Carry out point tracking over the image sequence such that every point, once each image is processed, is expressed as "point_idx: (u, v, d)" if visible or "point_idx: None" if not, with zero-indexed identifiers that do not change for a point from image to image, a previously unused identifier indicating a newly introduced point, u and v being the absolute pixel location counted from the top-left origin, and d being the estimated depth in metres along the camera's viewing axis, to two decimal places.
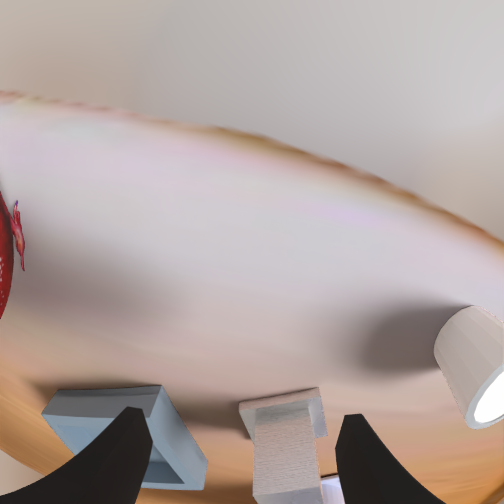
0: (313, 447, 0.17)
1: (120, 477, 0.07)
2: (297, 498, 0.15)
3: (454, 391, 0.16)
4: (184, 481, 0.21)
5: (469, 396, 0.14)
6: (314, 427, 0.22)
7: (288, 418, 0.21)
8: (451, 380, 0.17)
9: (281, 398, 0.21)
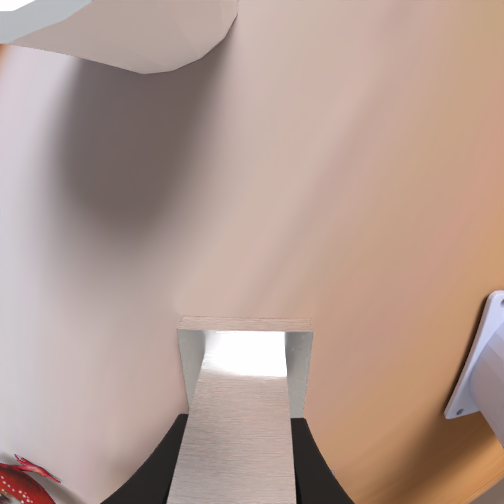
0: (187, 426, 0.08)
1: None
2: None
3: (110, 46, 0.05)
4: None
5: None
6: (271, 351, 0.12)
7: None
8: (111, 53, 0.06)
9: None
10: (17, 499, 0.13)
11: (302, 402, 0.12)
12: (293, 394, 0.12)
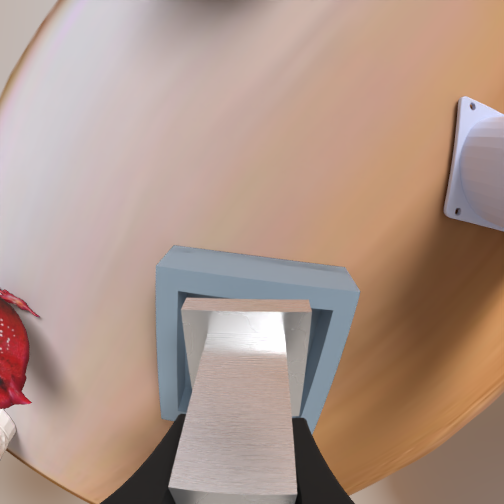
0: (191, 400, 0.09)
1: None
2: None
3: None
4: (325, 307, 0.16)
5: None
6: (271, 331, 0.12)
7: None
8: None
9: None
10: None
11: (301, 382, 0.13)
12: (293, 374, 0.13)
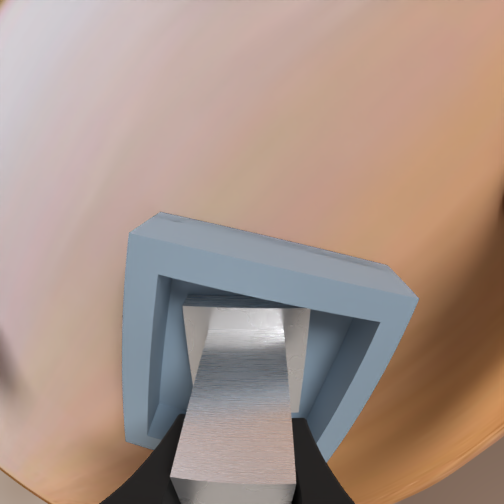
0: (192, 394, 0.09)
1: None
2: None
3: None
4: (371, 317, 0.11)
5: None
6: (271, 327, 0.13)
7: None
8: None
9: None
10: None
11: (300, 378, 0.13)
12: (292, 370, 0.13)
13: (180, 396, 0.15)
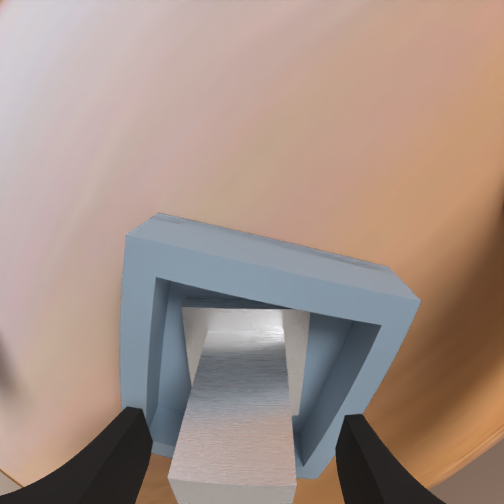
0: (191, 395, 0.09)
1: (120, 477, 0.07)
2: None
3: None
4: (372, 320, 0.11)
5: None
6: (271, 329, 0.12)
7: None
8: None
9: None
10: None
11: (301, 381, 0.13)
12: (292, 372, 0.13)
13: (179, 399, 0.15)
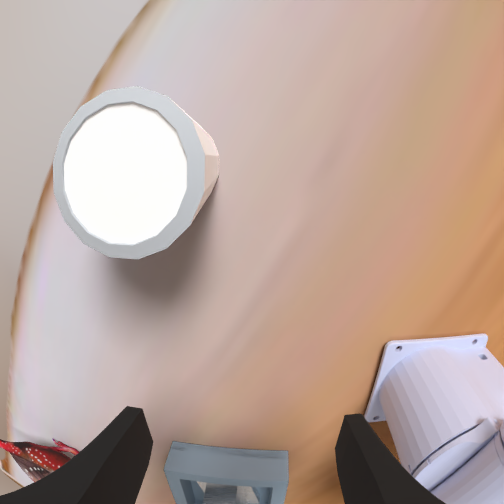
0: None
1: (120, 477, 0.07)
2: None
3: None
4: (267, 486, 0.21)
5: None
6: None
7: None
8: None
9: None
10: None
11: (253, 494, 0.24)
12: (248, 492, 0.24)
13: None
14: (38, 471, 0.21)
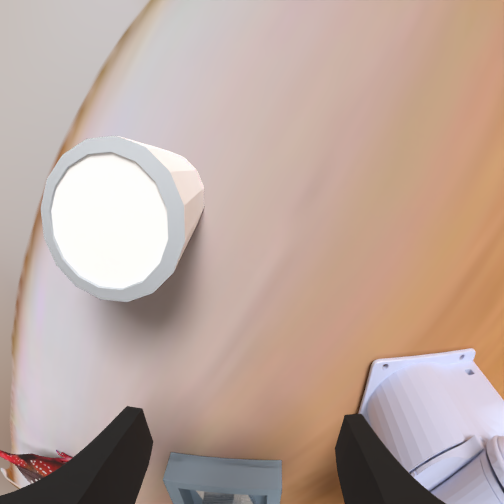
0: None
1: (120, 477, 0.07)
2: None
3: None
4: (262, 494, 0.22)
5: None
6: None
7: None
8: None
9: None
10: None
11: (250, 500, 0.25)
12: (244, 498, 0.24)
13: None
14: None
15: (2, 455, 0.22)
